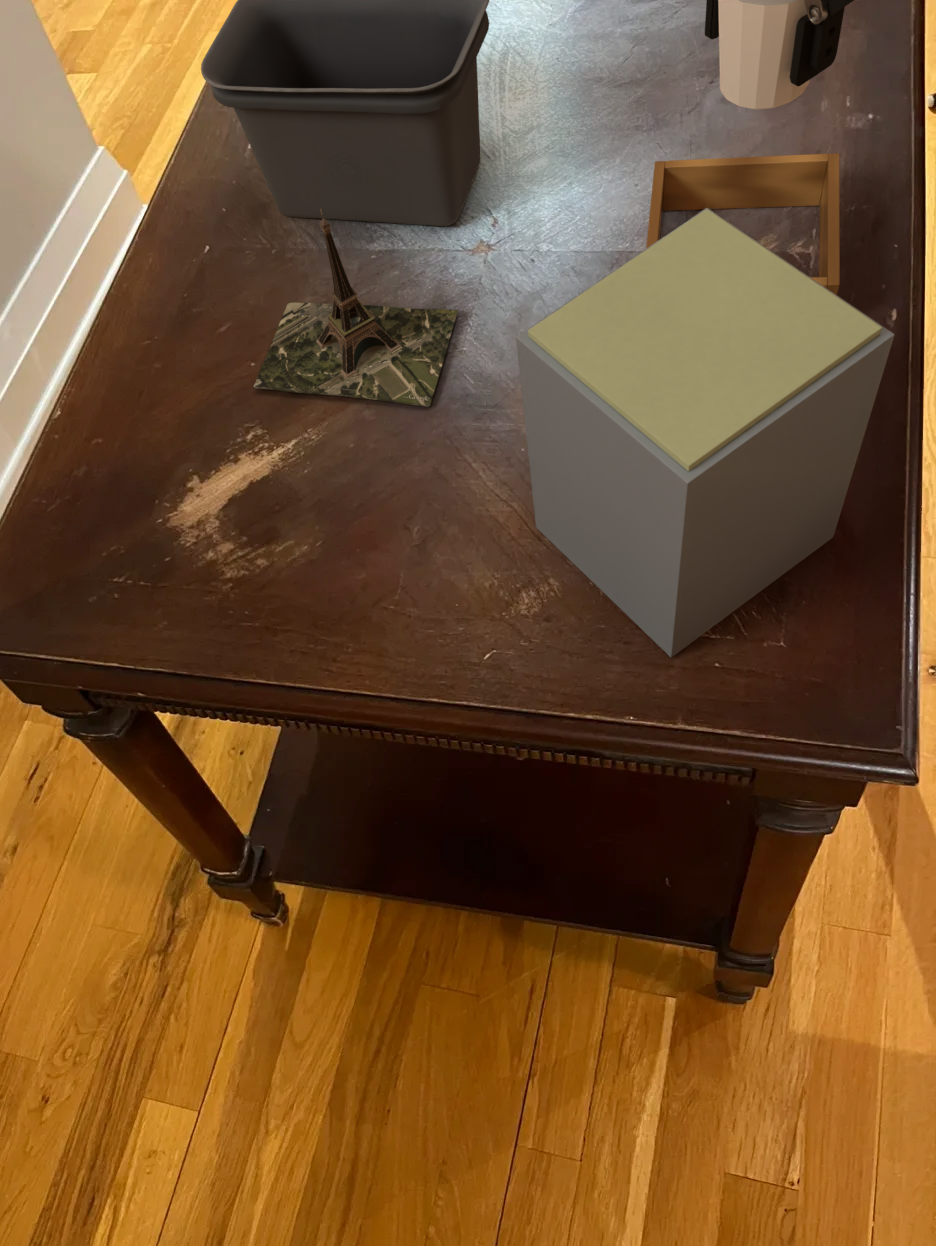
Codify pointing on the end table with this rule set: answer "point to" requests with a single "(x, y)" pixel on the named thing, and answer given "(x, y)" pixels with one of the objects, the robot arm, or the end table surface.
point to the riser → (691, 491)
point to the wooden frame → (755, 194)
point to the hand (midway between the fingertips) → (768, 48)
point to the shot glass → (758, 51)
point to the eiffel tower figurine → (357, 346)
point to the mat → (702, 337)
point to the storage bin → (356, 103)
